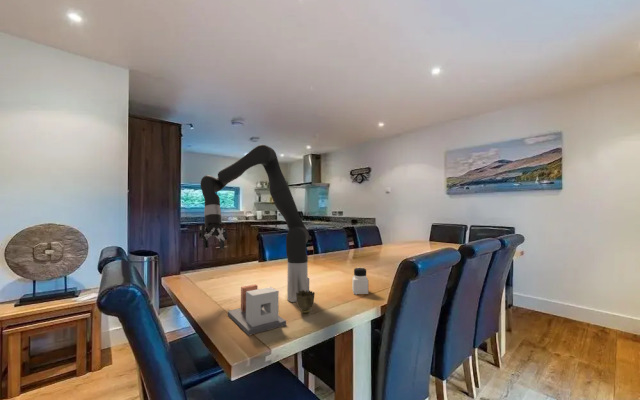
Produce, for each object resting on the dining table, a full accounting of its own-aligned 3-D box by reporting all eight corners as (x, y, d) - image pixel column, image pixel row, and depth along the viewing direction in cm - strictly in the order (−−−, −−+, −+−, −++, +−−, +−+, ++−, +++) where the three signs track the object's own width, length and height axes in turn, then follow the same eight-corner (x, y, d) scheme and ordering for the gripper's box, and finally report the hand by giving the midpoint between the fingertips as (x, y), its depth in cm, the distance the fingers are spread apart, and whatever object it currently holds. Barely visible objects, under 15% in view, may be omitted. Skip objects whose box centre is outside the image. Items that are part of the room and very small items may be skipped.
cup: (307, 317, 106) (307, 296, 107) (292, 313, 110) (292, 293, 110) (318, 311, 113) (318, 291, 113) (303, 308, 116) (303, 288, 117)
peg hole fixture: (260, 307, 117) (261, 278, 118) (286, 325, 100) (286, 291, 100) (227, 314, 109) (227, 283, 110) (248, 335, 91) (248, 298, 92)
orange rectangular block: (255, 306, 112) (255, 284, 112) (267, 315, 103) (267, 291, 103) (240, 310, 109) (241, 286, 109) (252, 319, 99) (252, 294, 100)
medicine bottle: (368, 294, 135) (368, 269, 135) (353, 294, 135) (353, 269, 136) (366, 290, 142) (366, 266, 143) (352, 290, 142) (352, 266, 143)
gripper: (204, 211, 127) (206, 246, 122) (229, 215, 139) (231, 247, 134) (194, 215, 131) (195, 250, 126) (220, 218, 142) (221, 250, 138)
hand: (214, 248), depth 130 cm, fingers open, 8 cm apart
